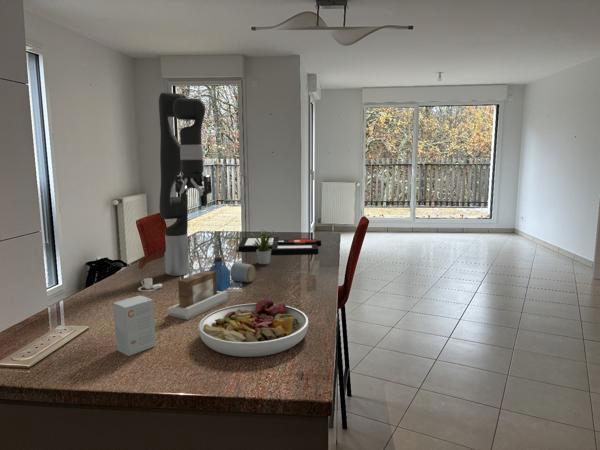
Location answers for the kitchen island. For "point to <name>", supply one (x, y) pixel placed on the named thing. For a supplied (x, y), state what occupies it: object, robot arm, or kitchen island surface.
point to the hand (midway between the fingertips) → (194, 205)
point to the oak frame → (197, 288)
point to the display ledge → (198, 306)
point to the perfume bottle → (221, 274)
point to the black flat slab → (283, 245)
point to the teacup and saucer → (149, 285)
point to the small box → (134, 325)
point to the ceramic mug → (242, 272)
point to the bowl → (253, 328)
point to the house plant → (264, 248)
